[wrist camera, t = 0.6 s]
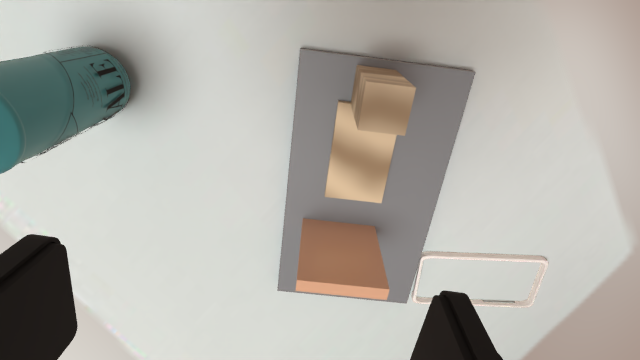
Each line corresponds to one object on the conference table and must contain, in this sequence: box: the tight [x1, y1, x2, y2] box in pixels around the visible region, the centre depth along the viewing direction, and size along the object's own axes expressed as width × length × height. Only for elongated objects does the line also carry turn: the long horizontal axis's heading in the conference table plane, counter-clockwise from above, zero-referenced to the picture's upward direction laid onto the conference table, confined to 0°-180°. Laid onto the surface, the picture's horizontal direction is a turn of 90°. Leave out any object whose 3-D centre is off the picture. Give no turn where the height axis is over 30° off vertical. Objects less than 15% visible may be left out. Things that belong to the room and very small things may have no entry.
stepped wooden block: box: [325, 65, 416, 203], centre depth 32 cm, size 13×6×8 cm, turn 173°
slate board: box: [277, 48, 475, 303], centre depth 39 cm, size 28×16×1 cm, turn 173°
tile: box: [296, 218, 390, 300], centre depth 36 cm, size 1×8×10 cm, turn 83°
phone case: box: [411, 251, 549, 307], centre depth 45 cm, size 7×1×15 cm
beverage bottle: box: [0, 45, 130, 174], centre depth 26 cm, size 6×7×20 cm
